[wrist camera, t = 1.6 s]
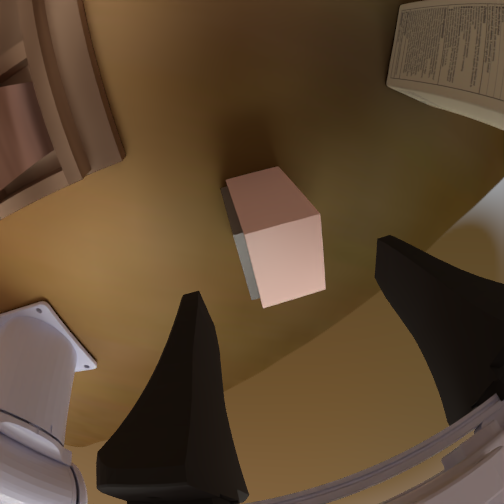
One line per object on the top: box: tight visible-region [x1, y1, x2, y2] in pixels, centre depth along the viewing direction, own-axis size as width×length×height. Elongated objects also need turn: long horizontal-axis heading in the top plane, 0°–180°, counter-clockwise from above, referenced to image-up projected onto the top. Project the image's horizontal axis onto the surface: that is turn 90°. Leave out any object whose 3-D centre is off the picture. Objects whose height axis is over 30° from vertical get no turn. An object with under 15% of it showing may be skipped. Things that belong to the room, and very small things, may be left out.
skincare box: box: [386, 0, 504, 130], centre depth 8 cm, size 6×4×12 cm
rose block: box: [220, 166, 325, 308], centre depth 15 cm, size 3×4×6 cm
